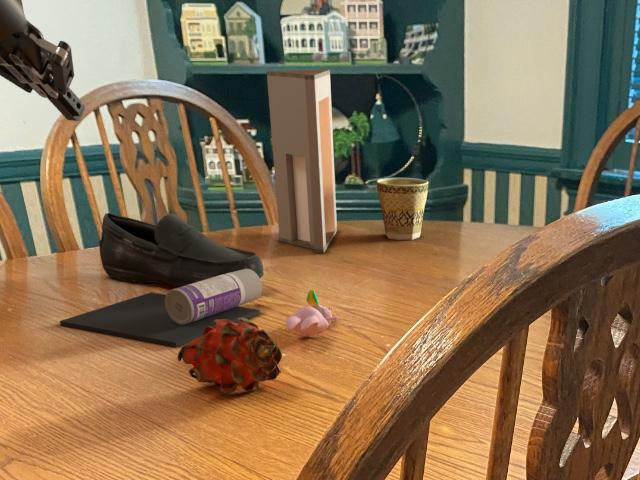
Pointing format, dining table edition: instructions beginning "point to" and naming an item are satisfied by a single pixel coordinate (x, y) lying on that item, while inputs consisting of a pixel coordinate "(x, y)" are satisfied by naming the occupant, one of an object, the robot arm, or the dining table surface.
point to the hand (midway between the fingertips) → (77, 114)
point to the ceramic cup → (402, 206)
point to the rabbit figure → (311, 317)
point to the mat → (149, 321)
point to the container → (212, 296)
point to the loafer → (167, 252)
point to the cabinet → (303, 156)
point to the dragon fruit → (233, 355)
